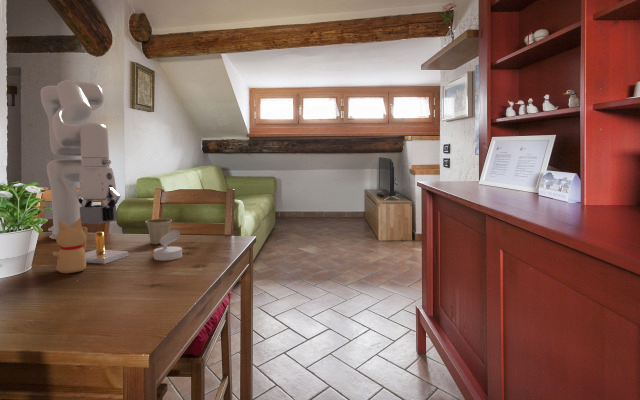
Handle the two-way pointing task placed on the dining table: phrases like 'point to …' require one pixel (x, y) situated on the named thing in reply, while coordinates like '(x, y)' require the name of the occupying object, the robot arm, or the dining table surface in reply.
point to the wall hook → (165, 251)
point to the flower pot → (158, 229)
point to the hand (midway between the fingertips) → (99, 219)
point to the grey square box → (94, 214)
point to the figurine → (71, 247)
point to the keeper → (103, 252)
